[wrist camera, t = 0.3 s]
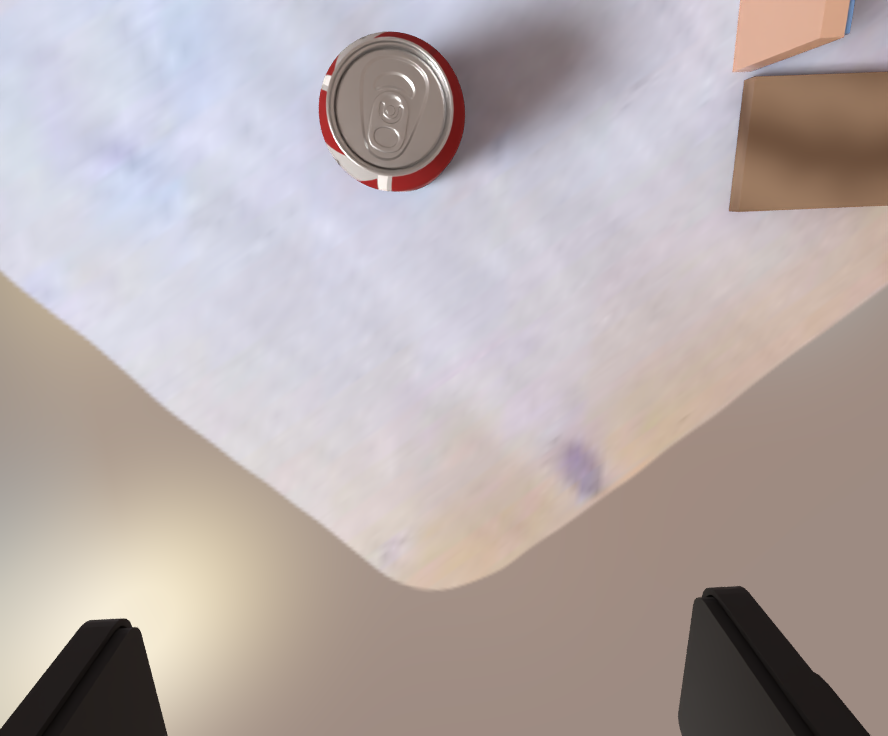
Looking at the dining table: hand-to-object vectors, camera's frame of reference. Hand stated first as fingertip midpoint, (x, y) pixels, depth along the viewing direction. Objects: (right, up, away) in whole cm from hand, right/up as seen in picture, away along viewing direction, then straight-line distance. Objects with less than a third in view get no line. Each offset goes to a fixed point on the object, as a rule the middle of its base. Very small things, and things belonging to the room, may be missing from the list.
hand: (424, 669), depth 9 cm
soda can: (-2, +20, +26) cm, 33 cm away
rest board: (+25, +20, +27) cm, 42 cm away
